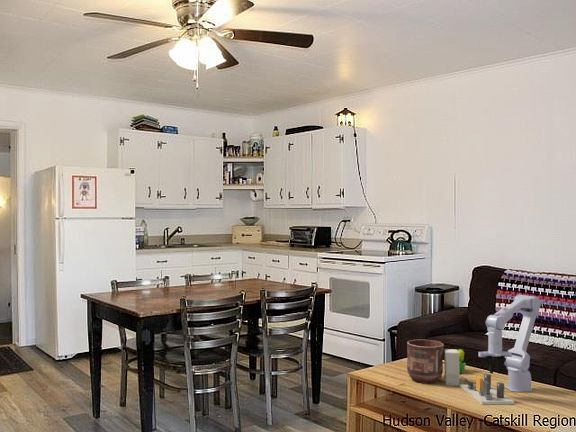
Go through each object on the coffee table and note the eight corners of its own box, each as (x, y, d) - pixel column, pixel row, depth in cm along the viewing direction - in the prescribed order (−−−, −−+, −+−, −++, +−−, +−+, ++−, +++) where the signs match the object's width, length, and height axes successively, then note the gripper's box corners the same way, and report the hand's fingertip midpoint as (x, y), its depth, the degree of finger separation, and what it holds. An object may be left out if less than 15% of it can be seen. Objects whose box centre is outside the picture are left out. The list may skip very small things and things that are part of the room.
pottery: (445, 386, 253) (446, 347, 253) (407, 383, 256) (407, 345, 256) (441, 376, 270) (441, 340, 271) (405, 374, 273) (406, 338, 274)
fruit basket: (443, 368, 285) (443, 346, 285) (459, 367, 286) (459, 346, 286) (451, 374, 273) (452, 352, 273) (468, 374, 274) (468, 351, 274)
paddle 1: (473, 384, 249) (461, 375, 249) (476, 386, 245) (465, 378, 245) (471, 386, 249) (460, 378, 249) (475, 389, 245) (463, 381, 245)
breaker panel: (489, 386, 253) (489, 371, 253) (514, 404, 229) (514, 387, 229) (460, 387, 252) (460, 371, 252) (482, 404, 228) (482, 387, 228)
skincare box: (459, 386, 253) (460, 353, 253) (445, 385, 254) (445, 352, 255) (457, 381, 261) (458, 349, 261) (443, 380, 263) (443, 348, 263)
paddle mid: (479, 390, 242) (479, 375, 243) (483, 393, 238) (483, 378, 238) (476, 390, 242) (476, 375, 242) (479, 393, 238) (480, 378, 238)
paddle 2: (485, 395, 235) (485, 380, 236) (489, 398, 231) (490, 383, 231) (482, 395, 235) (482, 380, 235) (486, 398, 231) (486, 383, 231)
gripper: (483, 344, 237) (482, 375, 236) (515, 344, 237) (515, 375, 237) (476, 341, 244) (476, 371, 243) (507, 340, 244) (507, 370, 244)
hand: (494, 373), depth 241 cm, fingers open, 3 cm apart
